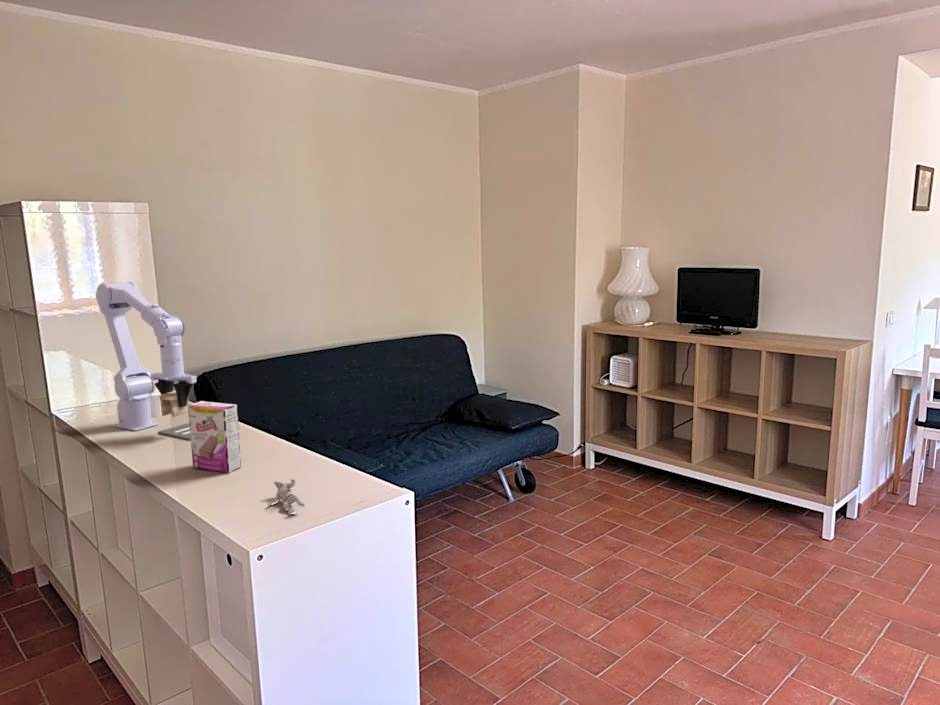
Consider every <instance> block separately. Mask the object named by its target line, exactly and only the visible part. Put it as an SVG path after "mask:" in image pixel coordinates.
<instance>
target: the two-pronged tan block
mask: <svg viewBox="0 0 940 705" xmlns="http://www.w3.org/2000/svg"><path fill="white" fill-rule="evenodd" d="M159 398H160V402H161V412H162V416H168V415H170V414H171V417H174V418H175V417H178V416H180V415H183V414H185V413H189V411H188V405H190V404H189V398H188V399H187V404H186V406H184V407H179V404H178V397H177V393H176V390H175V389H174V390H173V391H172V392H169V393H165V394H162V395H159ZM162 416H161V417H162Z"/></svg>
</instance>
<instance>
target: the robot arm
mask: <svg viewBox="0 0 940 705" xmlns="http://www.w3.org/2000/svg"><path fill="white" fill-rule="evenodd" d="M95 298H96V301H97V303H98V308H99V310H100V313H101V314H103V315H104V318H105V322H106V326H107V328H108V332H109V334H110V338H111V342H112V344H113V348H114V351H115V354H116V358H117V361H118V364H119V368H120V369H119V371H118V372H117V373H116V374H115V375H114V376H113V380H114V390H115V394H116V396H117V397H118V398H119V400H118V402H117V407H116V408H117V409H116V410H117V418H118V424H116V428H120V429H125V430H129V431H135V432H137V431H140V430H144V429H147V428H151V427H153V426H158V425H159V422H154V421H153V418H152V416H151V407H150V397H151V396H152V393H153V392H155V389H157V390H158V392H160V393H161V395H162V394H165V393H169V392H172V391H175V390H176V393H177V397H178V404H179V407H184V406H186V404H187V399H188V400H189V395H190V392H191V389H192V388H193V385H194V384H196V383H197V375H193V374H188V373H185V368H184V356H183V344H182V336H184V334H185V332H186V325H185V322H184V320H183V319H182V318H181V317H180V316H178V315H176V316H174V315H171V314H169V313H168V312H166V311H165V310H164V309H163V308H162V307H161V306H160V304H158V303H150V302H149V301H148V300H147V299H146V298H145V297H144V296H143V295H142V294H141V293H140V291H139V286H138V285H136V284H135V283H134V282H133V281H127V282H115V283H113V282H111V283H110V282H109V283H104V282H102V283H99V285H98V286H97V288H96V292H95ZM132 308H133V309H134V310H136V311H138V312H139V313H140V318H141V320H143V322H145V323H146V324H148V326H150V327H151V328H153V334H154V336H155V337H156V341H157V342H156V343H157V344H158V345H159V351H160V361H161V362H160V363H161V372H152V373H151V372H150V369H149V368H147V367H145V366H144V365H141V364H140V362H139V358H138V356H137V352H136V349H135V345H134V342H133V339H132V336H131V332H130V329H129V326H128V323H127V320H126V314H127V312H129V311H130V310H131V309H132ZM156 381H157V382H156ZM175 382H177V383H175Z"/></svg>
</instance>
